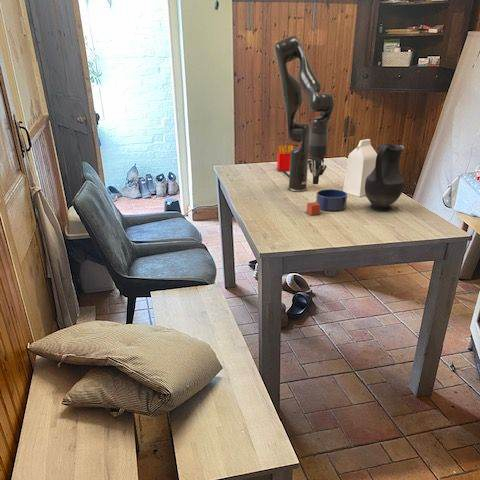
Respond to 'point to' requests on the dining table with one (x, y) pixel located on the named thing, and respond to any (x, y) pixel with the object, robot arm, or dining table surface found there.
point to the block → (313, 208)
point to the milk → (359, 168)
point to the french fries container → (284, 158)
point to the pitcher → (385, 178)
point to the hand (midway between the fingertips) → (315, 184)
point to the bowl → (331, 199)
